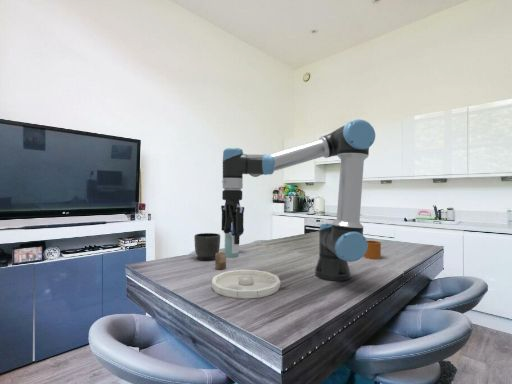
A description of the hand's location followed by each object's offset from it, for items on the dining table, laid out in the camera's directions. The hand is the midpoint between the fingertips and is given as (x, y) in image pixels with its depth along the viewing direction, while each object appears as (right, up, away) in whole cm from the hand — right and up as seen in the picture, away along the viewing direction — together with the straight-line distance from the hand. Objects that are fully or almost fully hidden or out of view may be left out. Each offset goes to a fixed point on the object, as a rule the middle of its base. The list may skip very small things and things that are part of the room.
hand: (231, 251), depth 104 cm
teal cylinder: (0, -2, 0) cm, 2 cm away
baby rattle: (-3, -14, +62) cm, 63 cm away
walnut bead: (-8, -14, +28) cm, 32 cm away
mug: (+77, -15, +54) cm, 95 cm away
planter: (-18, -14, +47) cm, 52 cm away
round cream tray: (+5, -14, +4) cm, 16 cm away
